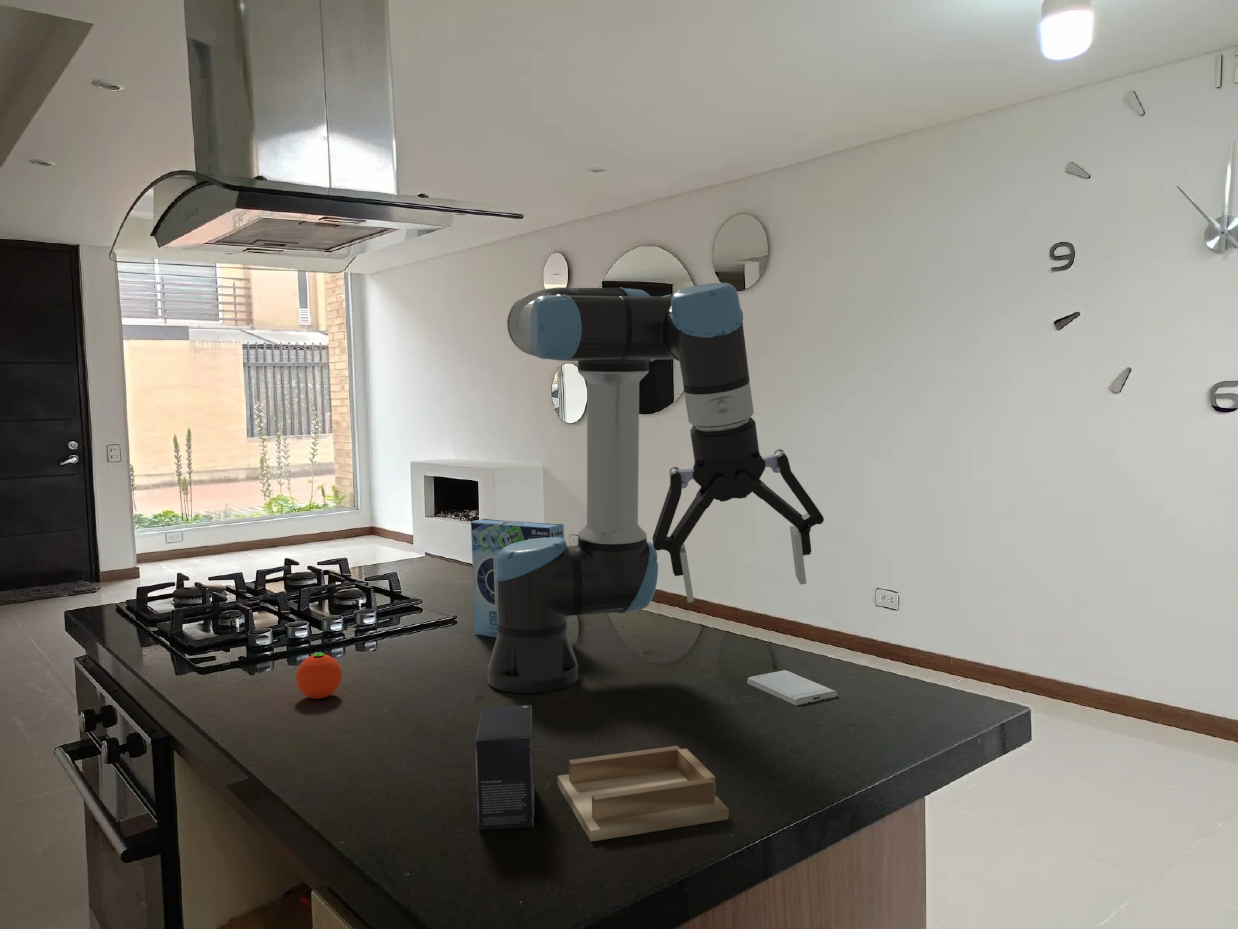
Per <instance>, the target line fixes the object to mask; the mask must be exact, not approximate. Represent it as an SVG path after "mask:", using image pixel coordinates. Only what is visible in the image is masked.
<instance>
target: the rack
mask: <svg viewBox="0 0 1238 929" xmlns="http://www.w3.org/2000/svg"><path fill="white" fill-rule="evenodd" d="M557 786H558V789H559V790H560V792H561V794H562V795H563V797H564V799H565V800H566V803H567V804H568V805H569V807H570V809H571V810H572V812H573V814H574V815H575V818H577V820H578V823H579V824H580V826H581V828H582V829H583V831H584V832H585V834H586V835H587V837H588V839H589V841H590V842H599V841H602V840H603V841H604V840H608V839H609V840H610V839H615V838H622V837H628V836H634V835H641V834H646V833H647V834H648V833H652V832H658V831H665V830H672V829H677V828H683V827H689V826H690V827H691V826H695V825H701V824H707V823H715V822H720V821H721V822H722V821H727V820H729V819H730V818H729V816H730V814H729V812H730V810H729V807H727V806H726V804H725V803H723V801H721V799H720V798H719V797H718V796H717V795H716V776H715V775H714V774H713V773H712V772H711V771H710V770H709V769H708V768H706V766H705V765H703V763H702V762H701V761H699V759H698V758H697V757H696V756H694V754H692V752H690V750H689V749H688V748H680V746H678V745H673V746H667V747H665V746H664V747H659V748H650V749H644V750H635V751H628V752H627V751H626V752H621V753H613V754H606V755H599V756H590V757H584V758H583V757H582V758H576V759H569V760H568V774H560V775H557Z"/></svg>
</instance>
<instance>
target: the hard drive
mask: <svg viewBox="0 0 1238 929" xmlns="http://www.w3.org/2000/svg"><path fill="white" fill-rule="evenodd" d="M747 685H750V686H751V687H755V688H756V689H758V690H761V691H763V692H766V693H767V694H770V695H772V696H774V697H777V698H778V699H781V698H782V699H781V700H783V701H784V702H785V701H786V702H787V703H789V702H790V704H792V705H794V706H799V705H804V704H809V703H808V702H810V703H814V702H819V701H823V700H822V699H824V700H827V698H828V699H832V698H833V699H834V698H837V697H838V692H837V691H836V690H833V689H831V688H829V687H828V686H825V685H822V684H821V683H820V684H819V683H818V682H815V681H812V680H811V679H807V678H805V677H802V676H800V675H798V674H795V673H793V672H790V671H788V670H786V669H783V670H779V671H773V672H768V673H763V674H759V675H753V676H750V677H748V678H747ZM836 696H837V697H836ZM818 700H819V701H818Z"/></svg>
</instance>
